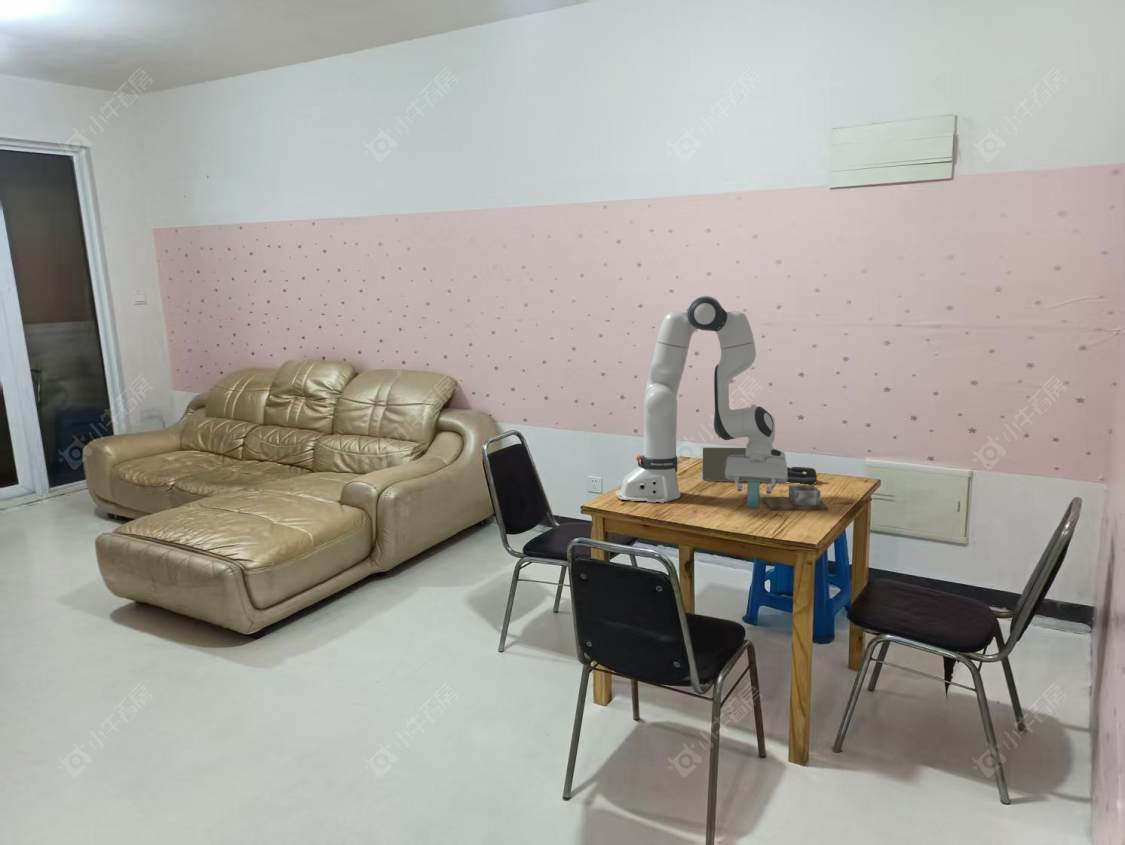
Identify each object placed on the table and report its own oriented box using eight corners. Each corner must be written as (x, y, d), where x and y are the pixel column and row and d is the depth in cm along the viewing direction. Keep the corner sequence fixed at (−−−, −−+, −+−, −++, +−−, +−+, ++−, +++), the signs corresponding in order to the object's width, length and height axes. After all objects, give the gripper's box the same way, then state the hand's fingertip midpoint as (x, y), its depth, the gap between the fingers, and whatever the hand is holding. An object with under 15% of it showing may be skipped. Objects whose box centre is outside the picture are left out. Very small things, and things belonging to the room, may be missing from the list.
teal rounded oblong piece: (748, 509, 248) (748, 483, 246) (745, 505, 251) (746, 480, 250) (760, 509, 248) (760, 483, 246) (757, 505, 251) (758, 480, 250)
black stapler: (749, 458, 291) (818, 462, 282) (748, 475, 292) (817, 480, 283) (745, 463, 283) (816, 468, 274) (745, 480, 284) (815, 486, 275)
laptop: (747, 474, 295) (748, 441, 292) (751, 482, 282) (752, 448, 280) (700, 473, 297) (701, 440, 295) (702, 481, 285) (702, 447, 282)
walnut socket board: (771, 510, 245) (771, 493, 244) (762, 500, 257) (763, 484, 256) (827, 510, 245) (828, 493, 244) (816, 500, 256) (817, 483, 255)
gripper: (726, 449, 257) (720, 484, 250) (789, 452, 250) (785, 488, 243) (728, 459, 262) (722, 493, 255) (790, 462, 255) (786, 498, 247)
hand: (753, 491), depth 249 cm, fingers open, 8 cm apart
